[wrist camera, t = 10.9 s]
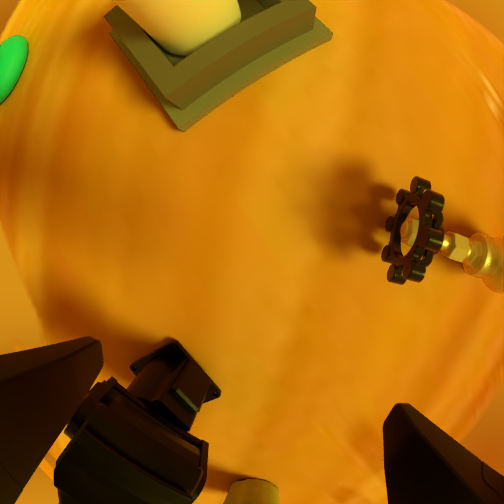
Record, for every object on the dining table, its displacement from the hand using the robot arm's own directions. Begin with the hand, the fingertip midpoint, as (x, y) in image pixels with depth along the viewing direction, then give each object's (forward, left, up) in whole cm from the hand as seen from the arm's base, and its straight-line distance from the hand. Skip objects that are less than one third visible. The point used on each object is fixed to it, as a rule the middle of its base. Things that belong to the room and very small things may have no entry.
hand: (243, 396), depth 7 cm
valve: (+13, -6, -13) cm, 19 cm away
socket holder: (+7, +18, -13) cm, 23 cm away
